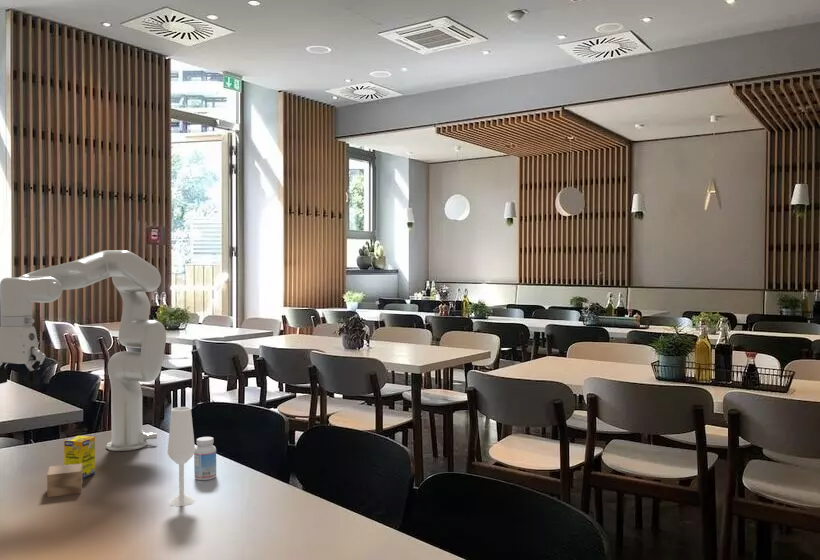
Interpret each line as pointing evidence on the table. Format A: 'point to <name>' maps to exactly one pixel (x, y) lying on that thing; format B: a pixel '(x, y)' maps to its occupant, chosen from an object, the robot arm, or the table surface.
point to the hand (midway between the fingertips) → (17, 383)
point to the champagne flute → (181, 448)
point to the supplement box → (81, 453)
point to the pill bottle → (205, 459)
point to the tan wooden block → (64, 480)
